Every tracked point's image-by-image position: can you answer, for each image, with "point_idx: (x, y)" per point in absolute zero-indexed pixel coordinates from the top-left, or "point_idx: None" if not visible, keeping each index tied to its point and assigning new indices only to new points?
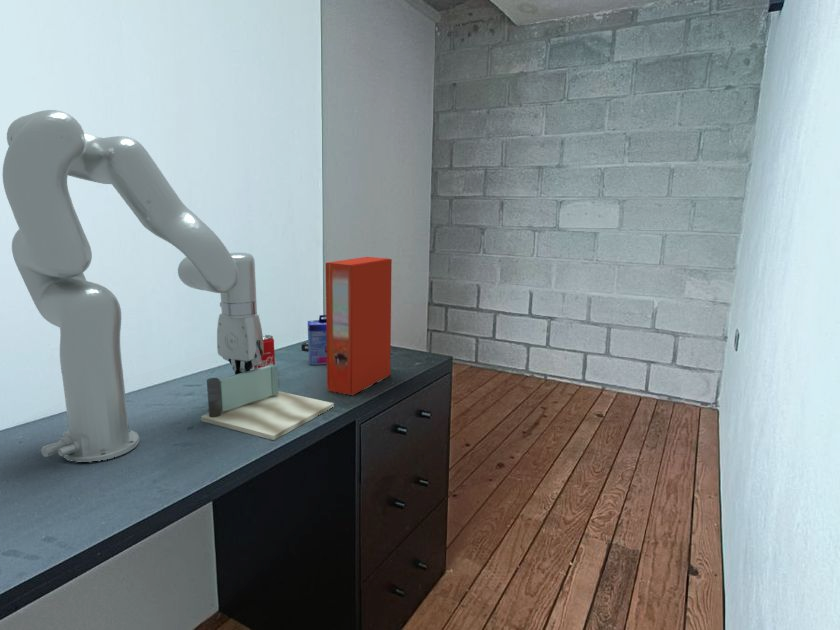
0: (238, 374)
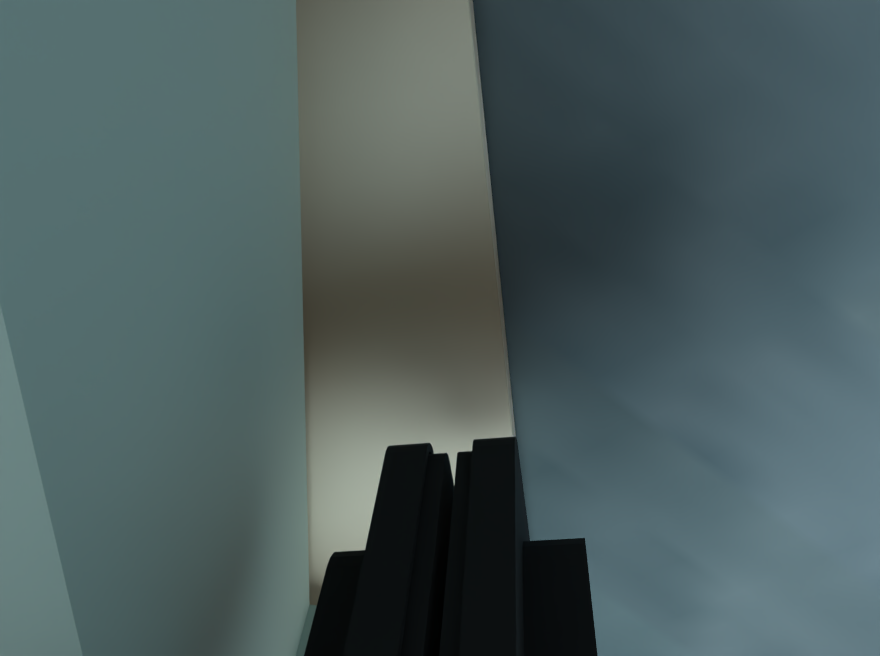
0: (9, 592)
